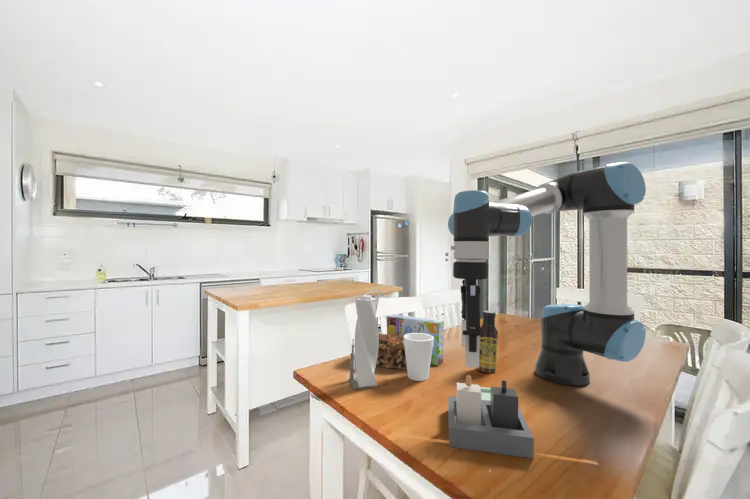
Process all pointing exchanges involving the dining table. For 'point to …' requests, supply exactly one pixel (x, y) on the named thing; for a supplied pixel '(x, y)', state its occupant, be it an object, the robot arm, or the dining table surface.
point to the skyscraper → (365, 343)
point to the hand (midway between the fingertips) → (469, 355)
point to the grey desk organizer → (494, 426)
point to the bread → (391, 352)
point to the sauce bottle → (488, 343)
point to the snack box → (419, 331)
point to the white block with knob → (468, 403)
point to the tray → (485, 393)
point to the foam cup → (418, 355)
